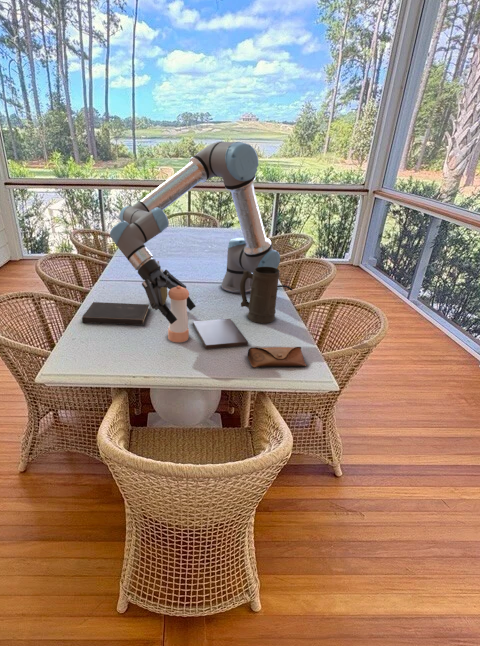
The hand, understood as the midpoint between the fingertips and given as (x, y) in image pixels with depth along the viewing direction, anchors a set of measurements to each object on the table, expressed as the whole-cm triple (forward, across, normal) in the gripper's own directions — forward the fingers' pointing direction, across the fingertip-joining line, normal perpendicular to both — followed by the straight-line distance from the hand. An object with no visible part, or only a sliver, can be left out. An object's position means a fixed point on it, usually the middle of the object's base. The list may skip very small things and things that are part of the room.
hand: (184, 315), depth 134 cm
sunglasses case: (+30, -1, +17) cm, 35 cm away
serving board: (+13, -10, 0) cm, 16 cm away
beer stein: (+18, -32, +4) cm, 37 cm away
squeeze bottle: (-11, -25, -25) cm, 37 cm away
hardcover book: (-16, -5, -30) cm, 34 cm away
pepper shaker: (+5, 0, -8) cm, 10 cm away
